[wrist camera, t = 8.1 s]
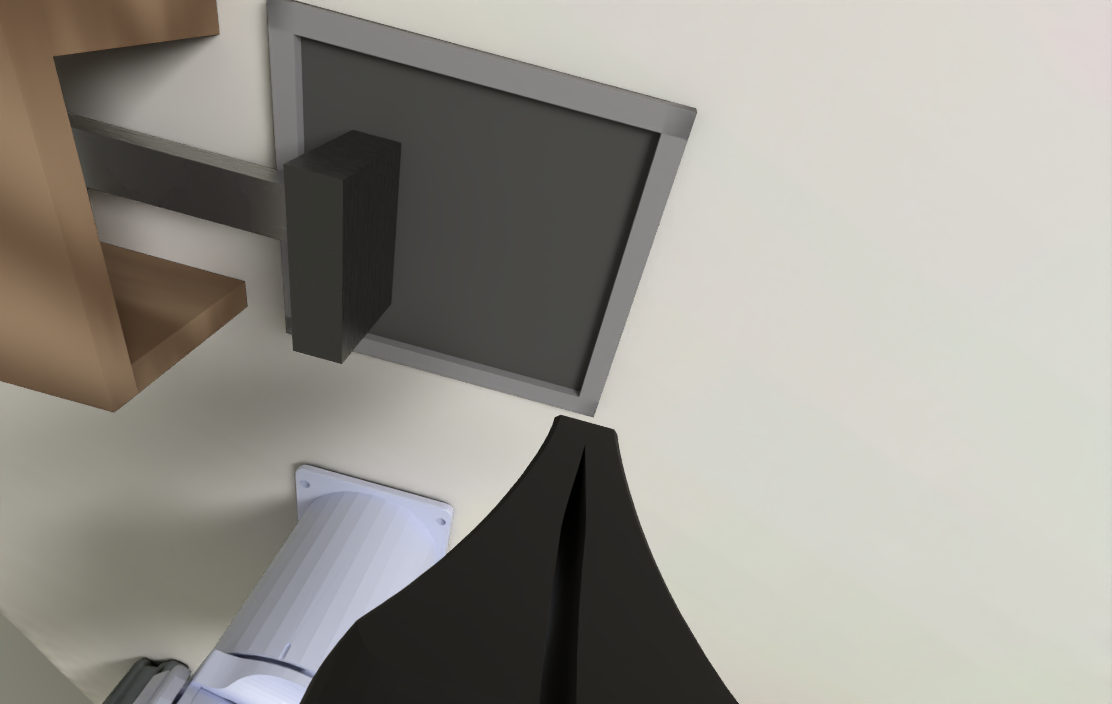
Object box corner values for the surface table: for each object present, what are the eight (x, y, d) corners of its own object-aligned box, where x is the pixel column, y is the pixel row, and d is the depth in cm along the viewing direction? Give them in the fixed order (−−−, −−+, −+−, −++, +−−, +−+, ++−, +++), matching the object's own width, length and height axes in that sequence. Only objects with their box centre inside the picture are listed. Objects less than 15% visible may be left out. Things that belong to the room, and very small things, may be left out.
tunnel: (247, 306, 24) (114, 412, 18) (62, 255, 24) (-129, 345, 18) (215, -10, 18) (-7, -2, 12) (-37, -78, 18) (-380, -103, 12)
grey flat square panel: (595, 408, 24) (593, 417, 24) (293, 325, 24) (285, 332, 24) (696, 108, 17) (696, 112, 17) (277, -5, 17) (266, -4, 17)
